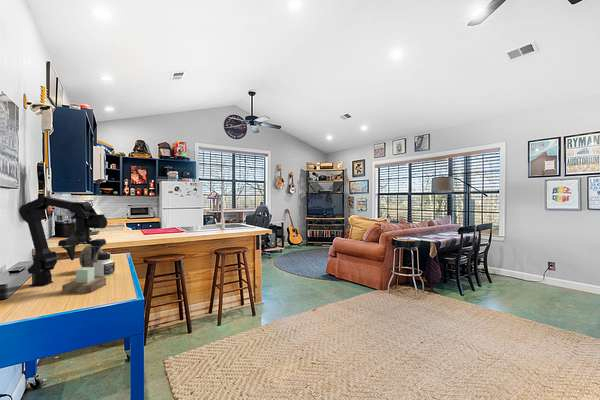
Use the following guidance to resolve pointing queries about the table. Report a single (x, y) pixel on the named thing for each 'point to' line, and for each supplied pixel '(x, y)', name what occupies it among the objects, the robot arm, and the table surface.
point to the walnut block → (84, 286)
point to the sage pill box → (85, 275)
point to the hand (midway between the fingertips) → (82, 260)
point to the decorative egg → (88, 257)
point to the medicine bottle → (104, 265)
